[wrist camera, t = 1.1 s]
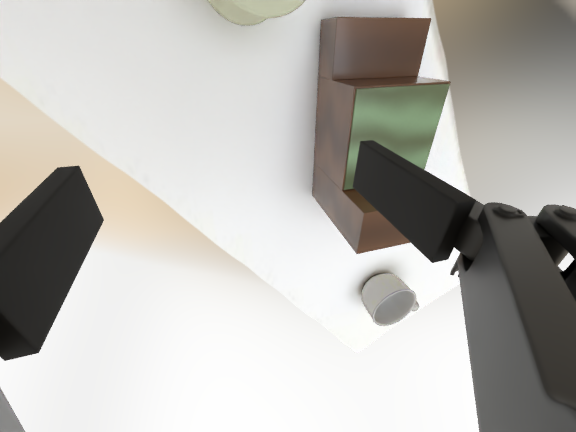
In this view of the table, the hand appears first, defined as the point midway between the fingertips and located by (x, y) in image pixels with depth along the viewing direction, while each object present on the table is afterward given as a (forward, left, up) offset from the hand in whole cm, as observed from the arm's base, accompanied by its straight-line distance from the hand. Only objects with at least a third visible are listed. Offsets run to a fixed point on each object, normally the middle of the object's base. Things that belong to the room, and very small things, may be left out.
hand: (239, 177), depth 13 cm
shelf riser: (+4, +20, -25) cm, 32 cm away
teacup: (+44, +33, -25) cm, 60 cm away
